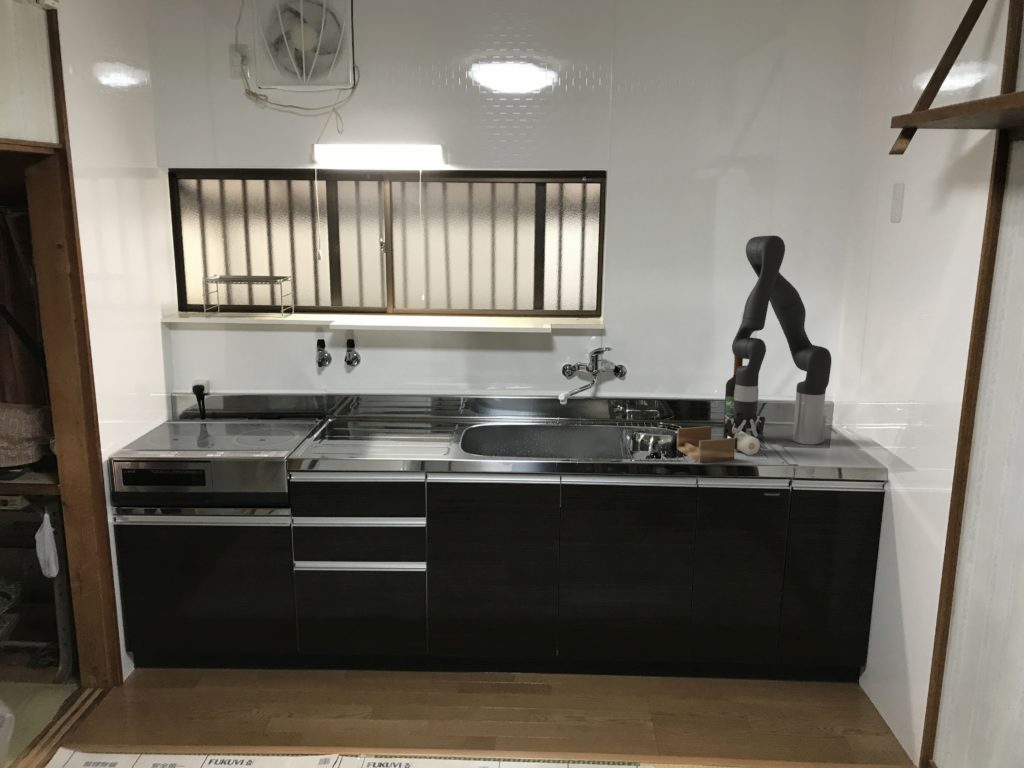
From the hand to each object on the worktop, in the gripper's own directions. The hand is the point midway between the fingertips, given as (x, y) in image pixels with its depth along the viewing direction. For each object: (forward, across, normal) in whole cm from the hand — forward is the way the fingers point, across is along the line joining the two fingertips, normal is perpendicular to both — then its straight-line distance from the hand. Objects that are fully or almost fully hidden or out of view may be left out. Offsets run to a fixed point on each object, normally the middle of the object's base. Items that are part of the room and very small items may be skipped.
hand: (743, 447), depth 249 cm
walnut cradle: (+1, +14, 0) cm, 14 cm away
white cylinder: (0, +2, 0) cm, 2 cm away
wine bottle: (+1, -5, -14) cm, 15 cm away
